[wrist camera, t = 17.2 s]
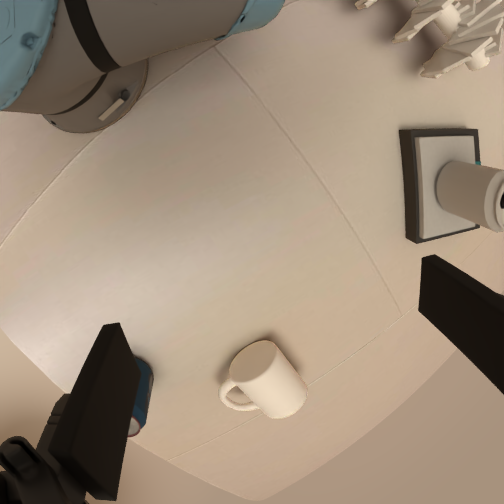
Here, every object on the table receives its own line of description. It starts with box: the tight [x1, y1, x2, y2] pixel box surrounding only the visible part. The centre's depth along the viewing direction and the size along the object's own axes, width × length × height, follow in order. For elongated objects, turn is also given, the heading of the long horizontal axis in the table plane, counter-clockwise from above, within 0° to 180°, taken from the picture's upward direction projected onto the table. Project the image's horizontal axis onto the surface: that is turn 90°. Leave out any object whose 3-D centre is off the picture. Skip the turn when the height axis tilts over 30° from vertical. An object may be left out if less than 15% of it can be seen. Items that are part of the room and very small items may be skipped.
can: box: [437, 161, 504, 232], centre depth 32 cm, size 8×8×12 cm
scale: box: [399, 128, 481, 244], centre depth 40 cm, size 16×14×4 cm
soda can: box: [128, 357, 154, 437], centre depth 41 cm, size 7×7×12 cm
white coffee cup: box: [218, 340, 308, 419], centre depth 45 cm, size 12×10×8 cm
